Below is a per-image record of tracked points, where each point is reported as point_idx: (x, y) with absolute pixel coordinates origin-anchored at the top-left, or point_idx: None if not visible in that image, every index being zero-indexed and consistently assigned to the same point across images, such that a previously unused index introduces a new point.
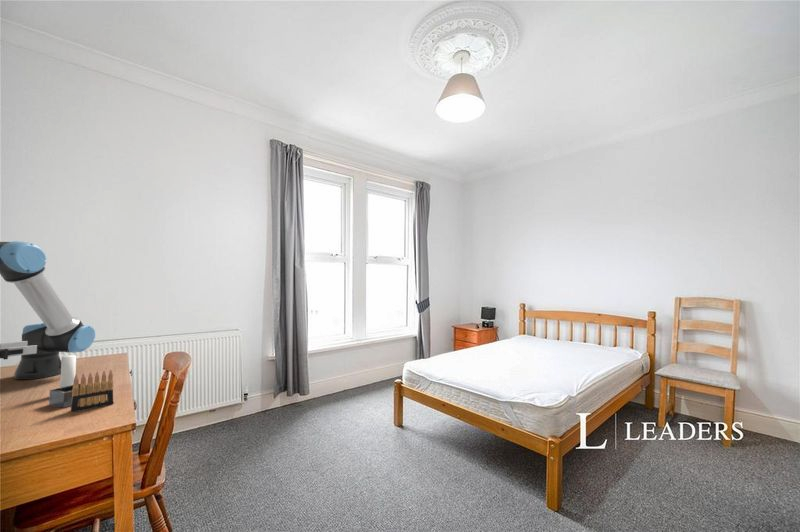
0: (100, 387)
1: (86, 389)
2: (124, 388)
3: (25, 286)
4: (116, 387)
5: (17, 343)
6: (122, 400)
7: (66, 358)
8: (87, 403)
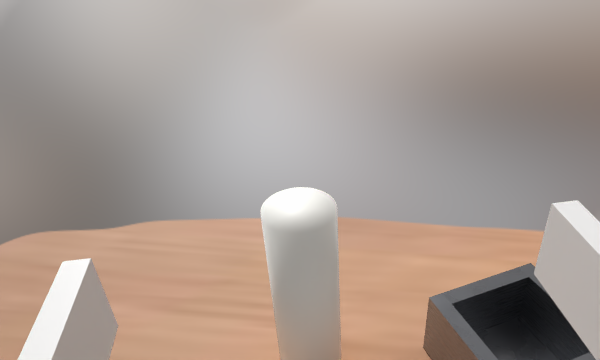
0: None
1: None
2: (396, 225)
3: None
4: (357, 239)
5: (71, 345)
6: None
7: (332, 222)
8: None
